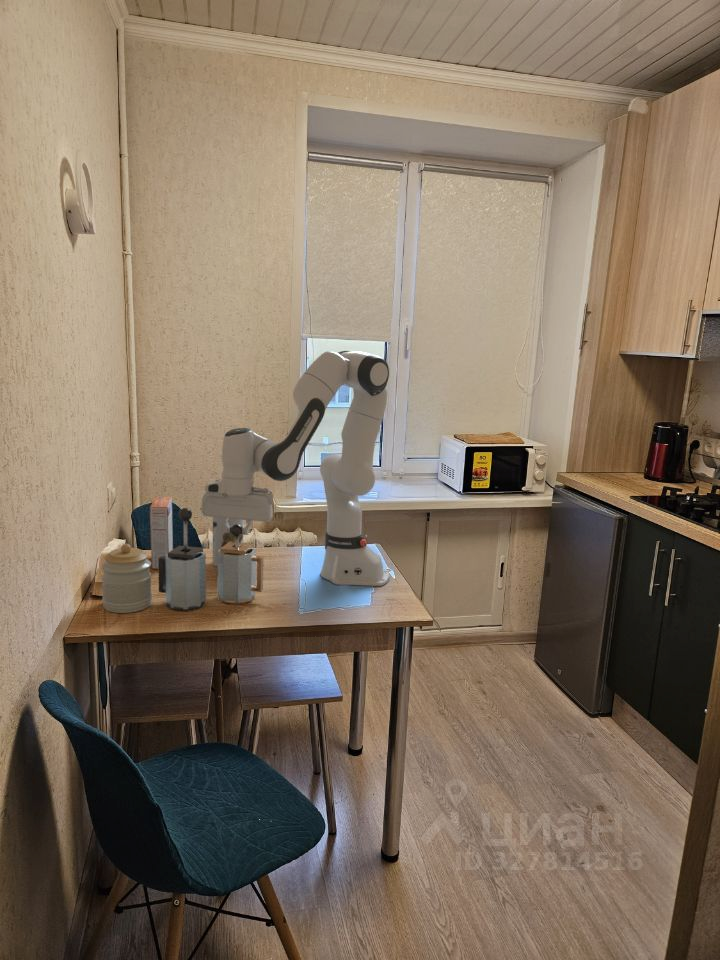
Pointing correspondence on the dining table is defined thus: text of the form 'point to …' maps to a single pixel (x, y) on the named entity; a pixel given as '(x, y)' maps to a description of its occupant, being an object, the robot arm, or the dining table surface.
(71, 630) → the dining table surface
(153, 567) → the cracker box
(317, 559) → the dining table surface
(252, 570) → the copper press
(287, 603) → the dining table surface
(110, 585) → the jar
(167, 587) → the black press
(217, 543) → the container
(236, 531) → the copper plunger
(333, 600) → the dining table surface
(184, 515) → the black plunger
